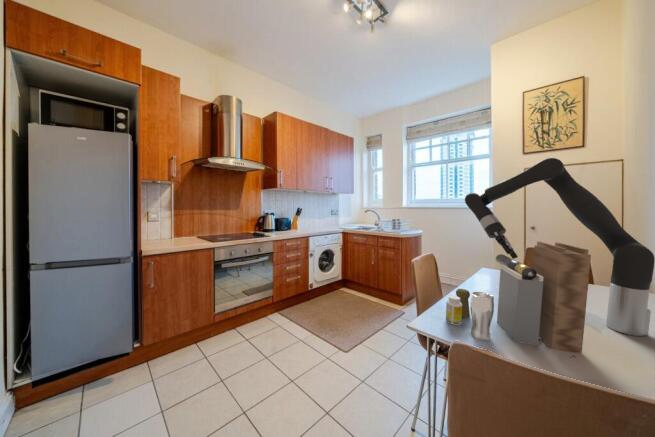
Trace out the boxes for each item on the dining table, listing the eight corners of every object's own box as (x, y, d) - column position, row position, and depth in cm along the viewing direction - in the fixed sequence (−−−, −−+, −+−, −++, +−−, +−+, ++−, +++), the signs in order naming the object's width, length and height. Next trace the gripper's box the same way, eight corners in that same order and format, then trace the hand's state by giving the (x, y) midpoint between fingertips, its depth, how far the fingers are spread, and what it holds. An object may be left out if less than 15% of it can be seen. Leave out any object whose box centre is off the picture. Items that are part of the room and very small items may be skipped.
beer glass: (470, 328, 92) (473, 290, 91) (492, 335, 87) (495, 294, 86) (467, 336, 86) (469, 295, 85) (490, 343, 82) (493, 300, 81)
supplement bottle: (463, 322, 96) (464, 297, 96) (459, 327, 92) (460, 301, 92) (448, 317, 100) (449, 293, 99) (443, 322, 96) (444, 297, 95)
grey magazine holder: (517, 324, 95) (521, 266, 93) (538, 345, 81) (543, 276, 80) (496, 322, 97) (500, 264, 95) (513, 341, 83) (518, 275, 82)
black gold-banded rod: (495, 263, 103) (495, 254, 103) (506, 263, 102) (506, 254, 102) (523, 280, 81) (523, 268, 81) (538, 280, 80) (538, 268, 80)
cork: (472, 319, 99) (473, 292, 98) (456, 317, 100) (457, 291, 100) (466, 312, 105) (468, 287, 104) (451, 311, 106) (453, 286, 105)
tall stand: (553, 330, 91) (560, 242, 88) (581, 353, 77) (591, 250, 75) (528, 327, 93) (534, 241, 90) (551, 349, 79) (560, 248, 77)
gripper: (495, 217, 110) (518, 247, 100) (504, 226, 119) (526, 255, 109) (479, 225, 114) (499, 255, 104) (489, 234, 122) (508, 262, 113)
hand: (512, 255), depth 106 cm, fingers open, 8 cm apart
